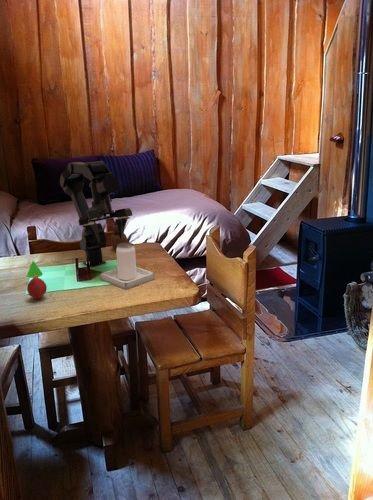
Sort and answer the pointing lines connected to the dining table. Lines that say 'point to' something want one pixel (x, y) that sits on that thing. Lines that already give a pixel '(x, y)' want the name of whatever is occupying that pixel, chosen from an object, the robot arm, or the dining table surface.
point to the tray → (140, 279)
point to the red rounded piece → (36, 287)
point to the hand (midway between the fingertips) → (109, 241)
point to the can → (126, 261)
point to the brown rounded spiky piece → (117, 237)
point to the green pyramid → (34, 271)
